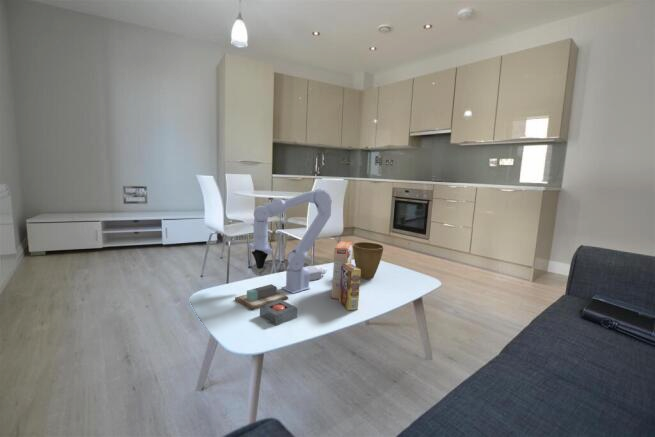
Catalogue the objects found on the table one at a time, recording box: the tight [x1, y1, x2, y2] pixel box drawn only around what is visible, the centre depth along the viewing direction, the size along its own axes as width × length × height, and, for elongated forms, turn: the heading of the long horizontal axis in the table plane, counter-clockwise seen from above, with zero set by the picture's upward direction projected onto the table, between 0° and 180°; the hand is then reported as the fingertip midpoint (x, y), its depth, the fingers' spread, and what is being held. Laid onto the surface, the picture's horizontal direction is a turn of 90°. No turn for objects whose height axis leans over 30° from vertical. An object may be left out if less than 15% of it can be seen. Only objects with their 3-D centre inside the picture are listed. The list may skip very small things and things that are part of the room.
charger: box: [305, 265, 328, 282], centre depth 150 cm, size 5×9×15 cm
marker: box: [246, 284, 278, 301], centre depth 120 cm, size 12×3×3 cm, turn 136°
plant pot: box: [352, 241, 385, 280], centre depth 152 cm, size 15×15×16 cm
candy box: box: [338, 263, 361, 311], centre depth 117 cm, size 9×4×15 cm, turn 21°
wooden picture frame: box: [234, 290, 289, 311], centre depth 120 cm, size 16×12×1 cm
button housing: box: [259, 300, 298, 327], centre depth 106 cm, size 9×9×4 cm
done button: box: [273, 305, 285, 311], centre depth 106 cm, size 4×4×2 cm
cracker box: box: [331, 240, 354, 300], centre depth 129 cm, size 14×6×21 cm, turn 168°
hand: (260, 268), depth 129 cm, fingers closed
